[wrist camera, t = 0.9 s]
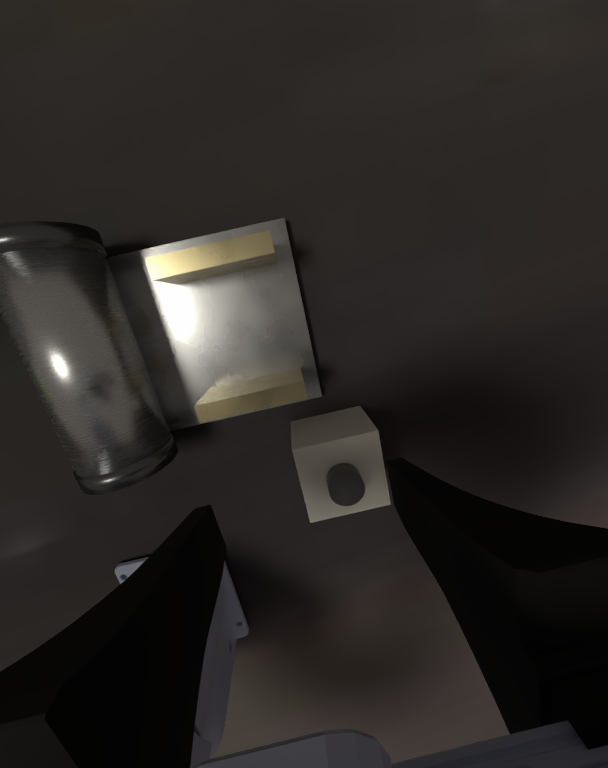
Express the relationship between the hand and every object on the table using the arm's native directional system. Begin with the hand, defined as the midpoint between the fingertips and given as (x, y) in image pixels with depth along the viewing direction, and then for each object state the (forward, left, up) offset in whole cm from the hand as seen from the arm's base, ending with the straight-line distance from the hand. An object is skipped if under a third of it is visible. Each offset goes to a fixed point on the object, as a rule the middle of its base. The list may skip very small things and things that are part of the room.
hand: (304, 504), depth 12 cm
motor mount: (+7, +5, -9) cm, 13 cm away
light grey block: (-3, -2, -10) cm, 10 cm away
